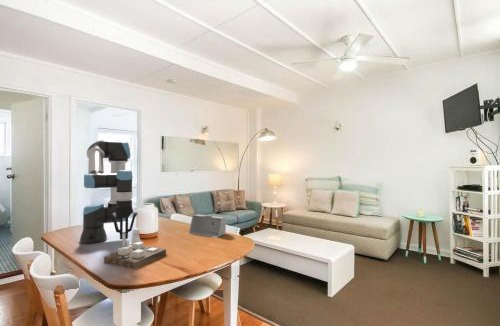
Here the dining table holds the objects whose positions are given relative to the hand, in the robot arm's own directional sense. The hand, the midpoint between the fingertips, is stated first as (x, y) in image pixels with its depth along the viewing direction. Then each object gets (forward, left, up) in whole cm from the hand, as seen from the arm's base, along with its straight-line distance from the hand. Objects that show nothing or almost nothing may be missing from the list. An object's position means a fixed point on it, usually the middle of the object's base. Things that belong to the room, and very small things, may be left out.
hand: (123, 245), depth 143 cm
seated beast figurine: (-10, +17, -8) cm, 21 cm away
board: (+5, +4, -7) cm, 10 cm away
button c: (0, +10, -5) cm, 11 cm away
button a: (0, 0, -5) cm, 5 cm away
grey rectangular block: (+12, +66, -8) cm, 67 cm away
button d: (+10, +10, -7) cm, 16 cm away
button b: (+10, 0, -5) cm, 11 cm away
